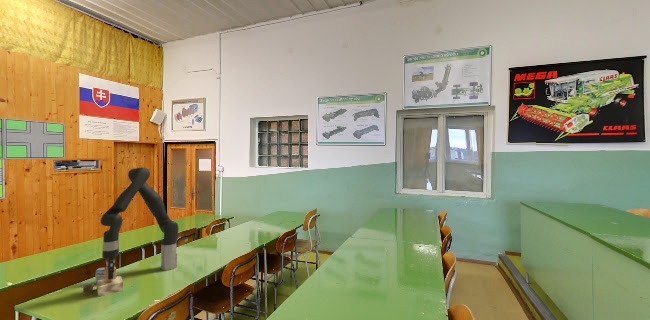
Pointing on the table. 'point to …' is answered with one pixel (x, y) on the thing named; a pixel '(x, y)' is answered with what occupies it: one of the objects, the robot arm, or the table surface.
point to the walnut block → (87, 289)
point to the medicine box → (99, 274)
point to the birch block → (109, 286)
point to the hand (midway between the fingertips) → (110, 277)
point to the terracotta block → (107, 274)
